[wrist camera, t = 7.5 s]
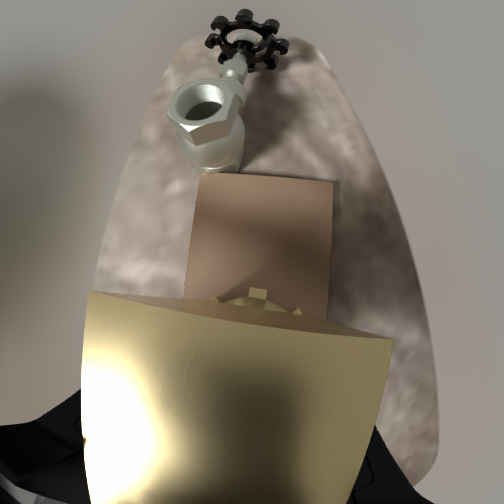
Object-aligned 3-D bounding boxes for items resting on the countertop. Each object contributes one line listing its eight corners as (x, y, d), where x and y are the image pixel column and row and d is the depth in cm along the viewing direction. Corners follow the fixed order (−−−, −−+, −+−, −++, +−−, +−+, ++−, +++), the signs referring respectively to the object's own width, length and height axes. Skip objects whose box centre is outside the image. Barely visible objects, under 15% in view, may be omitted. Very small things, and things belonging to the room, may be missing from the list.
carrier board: (291, 502, 15) (292, 511, 14) (178, 489, 15) (174, 497, 14) (329, 188, 19) (333, 181, 17) (204, 178, 19) (200, 170, 18)
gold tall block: (299, 413, 15) (349, 567, 3) (182, 394, 15) (63, 510, 3) (320, 298, 16) (447, 282, 4) (198, 280, 16) (61, 227, 4)
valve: (257, 193, 19) (287, 71, 21) (253, 141, 12) (291, 12, 14) (167, 177, 19) (214, 63, 21) (130, 129, 13) (201, 8, 15)
